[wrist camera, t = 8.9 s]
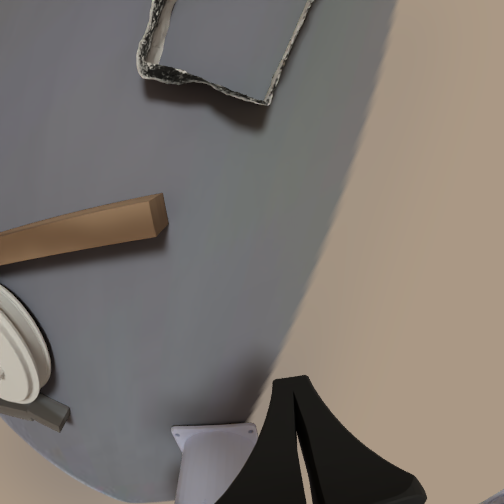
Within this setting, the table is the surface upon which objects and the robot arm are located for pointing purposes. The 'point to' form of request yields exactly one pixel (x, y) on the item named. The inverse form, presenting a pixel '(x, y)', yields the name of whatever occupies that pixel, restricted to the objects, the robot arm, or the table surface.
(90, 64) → the table surface
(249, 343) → the table surface
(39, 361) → the lid
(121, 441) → the table surface
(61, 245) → the u-shaped bar frame
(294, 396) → the robot arm
